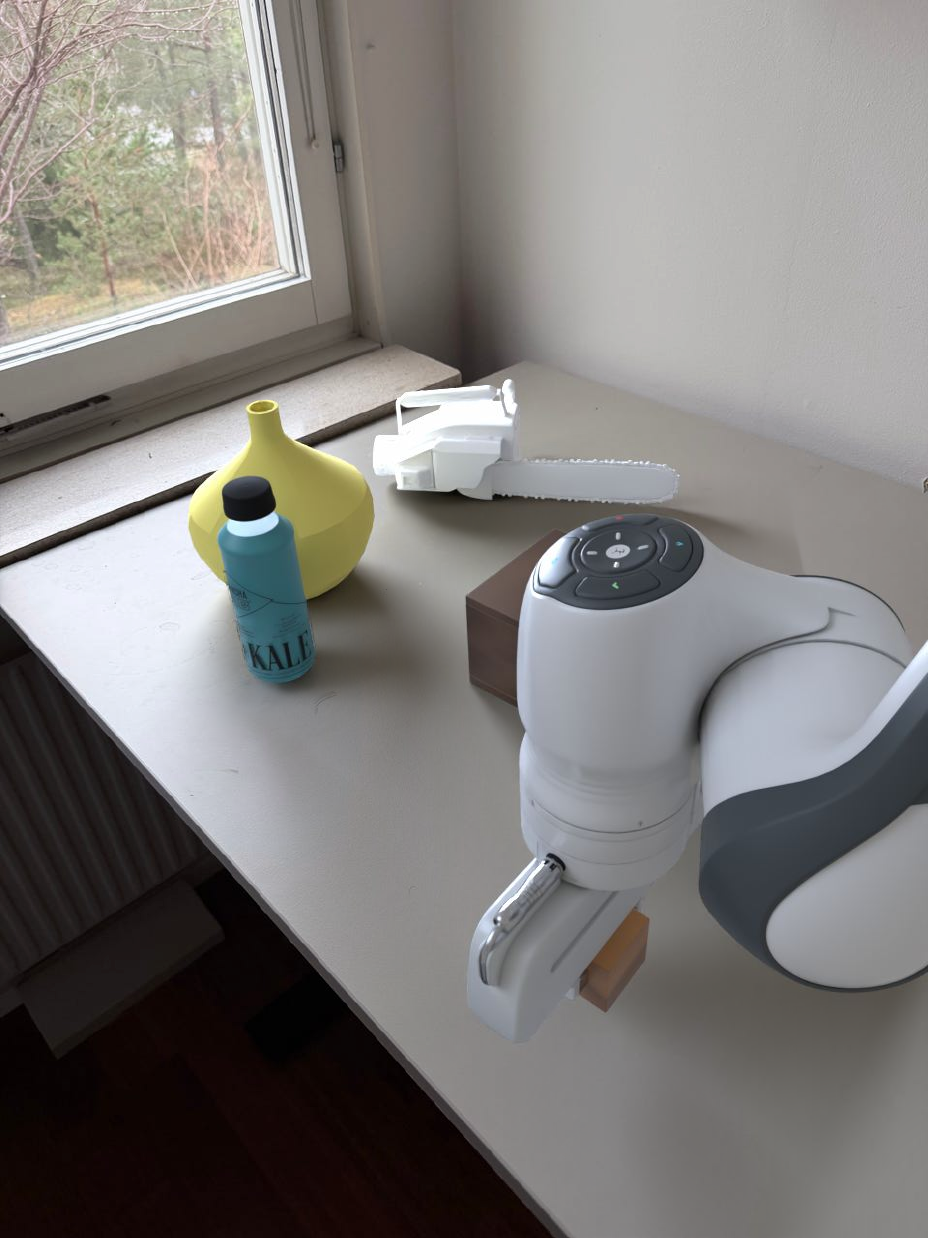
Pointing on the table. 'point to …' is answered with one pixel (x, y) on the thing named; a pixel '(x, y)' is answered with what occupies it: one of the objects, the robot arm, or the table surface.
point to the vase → (292, 502)
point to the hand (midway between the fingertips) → (596, 950)
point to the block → (617, 961)
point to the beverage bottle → (265, 582)
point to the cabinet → (501, 621)
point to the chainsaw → (501, 455)
